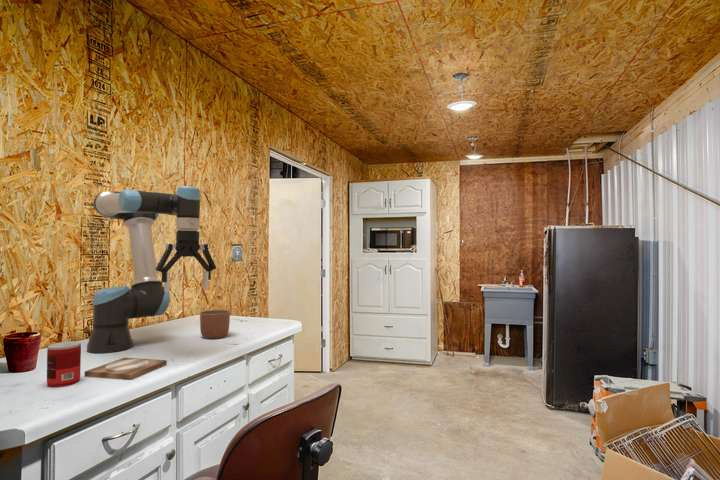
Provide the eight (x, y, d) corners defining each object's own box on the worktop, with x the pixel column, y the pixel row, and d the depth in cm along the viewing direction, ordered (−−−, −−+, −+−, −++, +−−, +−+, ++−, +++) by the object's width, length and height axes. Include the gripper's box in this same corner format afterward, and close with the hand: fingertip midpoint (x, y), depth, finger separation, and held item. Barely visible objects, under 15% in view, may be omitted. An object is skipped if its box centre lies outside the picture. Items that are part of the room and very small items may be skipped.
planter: (230, 338, 175) (231, 313, 175) (199, 341, 170) (200, 314, 170) (228, 333, 186) (229, 309, 186) (199, 335, 182) (199, 310, 182)
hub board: (84, 376, 123) (84, 370, 123) (124, 361, 139) (124, 356, 139) (131, 379, 120) (131, 373, 120) (166, 364, 136) (166, 358, 136)
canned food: (86, 378, 121) (87, 341, 122) (67, 387, 113) (68, 347, 114) (59, 378, 121) (60, 341, 121) (39, 387, 113) (40, 347, 113)
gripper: (154, 228, 133) (152, 294, 133) (226, 231, 151) (225, 289, 150) (146, 229, 138) (145, 292, 138) (216, 231, 156) (215, 287, 156)
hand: (186, 290), depth 144 cm, fingers open, 13 cm apart
